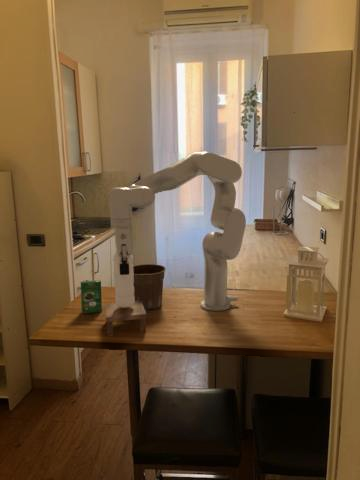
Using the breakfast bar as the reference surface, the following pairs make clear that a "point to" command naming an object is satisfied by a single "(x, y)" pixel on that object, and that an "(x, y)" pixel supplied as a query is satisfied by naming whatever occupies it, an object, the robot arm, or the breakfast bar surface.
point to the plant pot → (149, 285)
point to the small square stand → (125, 315)
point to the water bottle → (123, 283)
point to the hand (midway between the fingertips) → (123, 271)
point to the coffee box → (91, 296)
